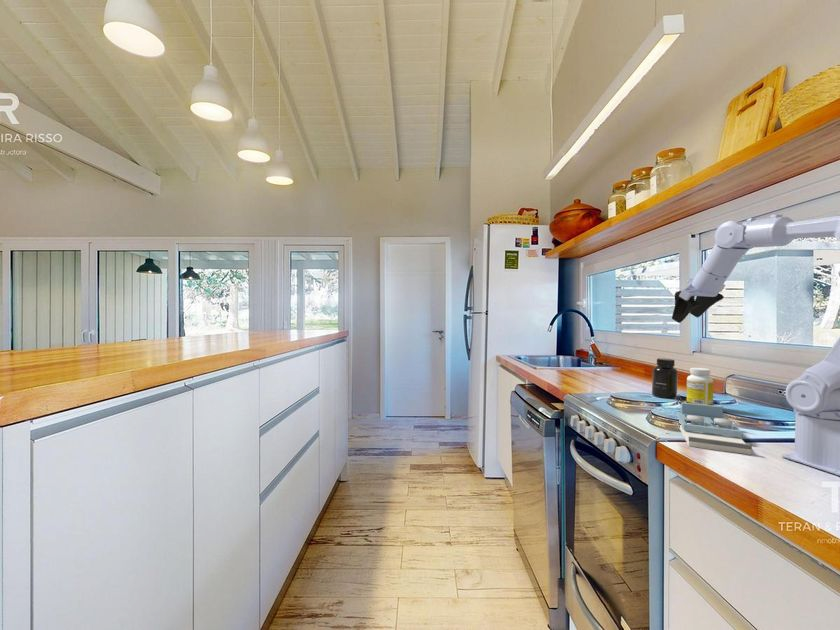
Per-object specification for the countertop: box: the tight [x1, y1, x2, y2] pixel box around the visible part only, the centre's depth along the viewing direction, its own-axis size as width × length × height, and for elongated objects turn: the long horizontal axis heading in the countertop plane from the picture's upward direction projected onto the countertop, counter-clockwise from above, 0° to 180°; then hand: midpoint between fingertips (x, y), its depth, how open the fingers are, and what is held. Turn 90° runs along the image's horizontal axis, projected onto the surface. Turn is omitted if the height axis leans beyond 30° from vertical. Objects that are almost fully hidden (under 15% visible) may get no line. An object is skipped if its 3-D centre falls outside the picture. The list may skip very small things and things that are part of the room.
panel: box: [675, 402, 742, 438], centre depth 89 cm, size 12×10×4 cm
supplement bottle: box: [651, 357, 679, 400], centre depth 124 cm, size 7×7×12 cm
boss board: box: [679, 415, 753, 456], centre depth 86 cm, size 20×10×4 cm, turn 153°
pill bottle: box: [686, 367, 714, 406], centre depth 111 cm, size 6×6×11 cm
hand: (685, 317), depth 99 cm, fingers open, 7 cm apart
